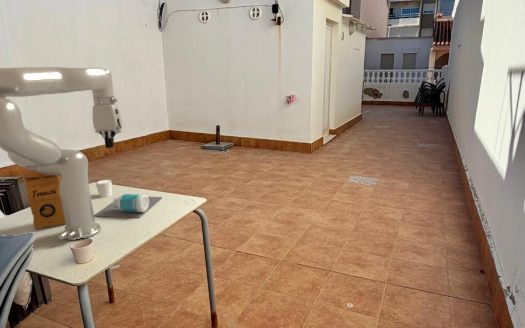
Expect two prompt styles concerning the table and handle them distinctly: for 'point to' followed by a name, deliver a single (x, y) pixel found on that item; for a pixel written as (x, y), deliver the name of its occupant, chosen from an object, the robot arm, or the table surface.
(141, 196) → the pill bottle
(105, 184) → the white ridged cylinder
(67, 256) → the table surface
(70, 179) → the robot arm
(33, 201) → the coffee package
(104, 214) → the mat
